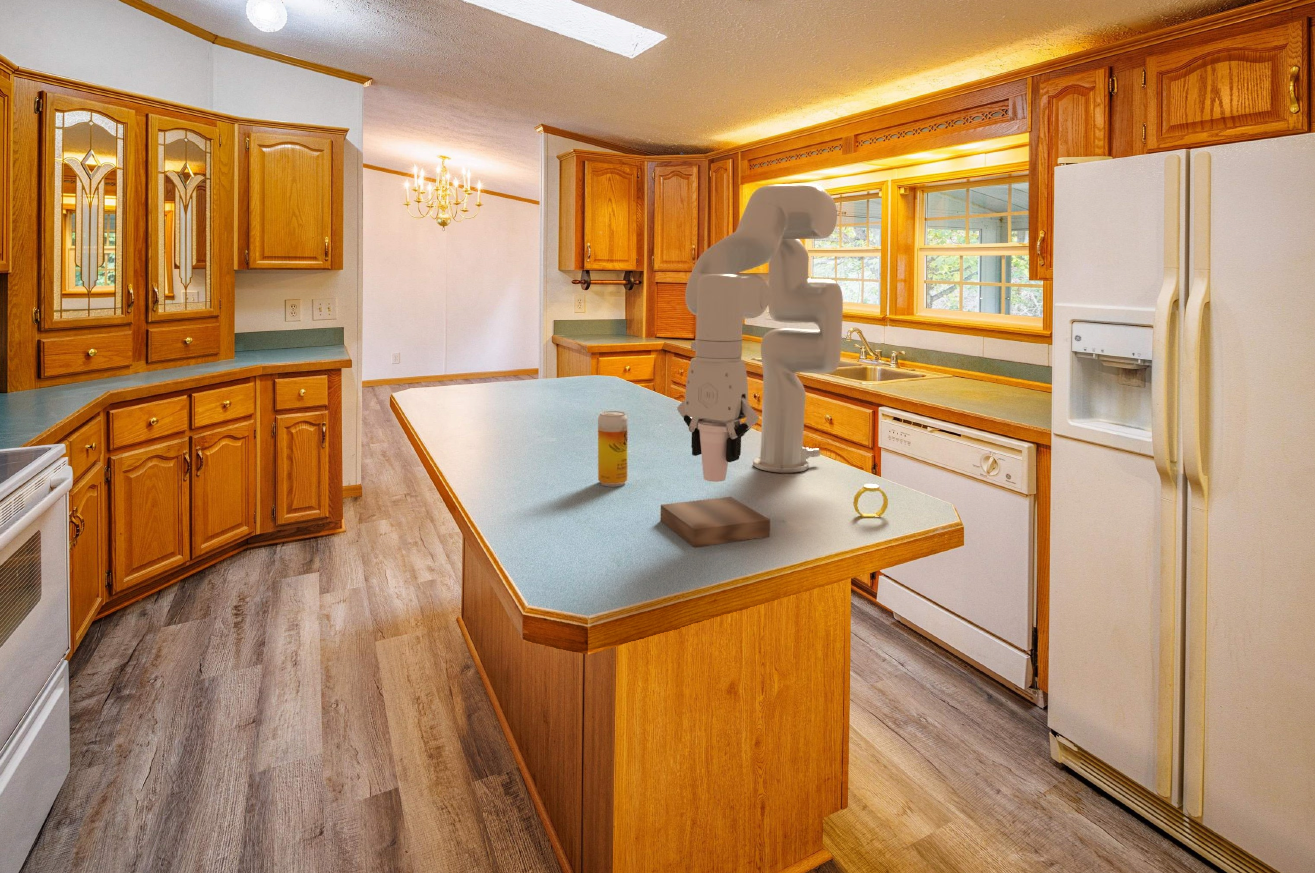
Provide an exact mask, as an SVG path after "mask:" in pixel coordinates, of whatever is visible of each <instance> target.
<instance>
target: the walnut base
mask: <svg viewBox="0 0 1315 873" xmlns="http://www.w3.org/2000/svg"><path fill="white" fill-rule="evenodd" d="M660 522H661V523H662V524H664V526H665V525H666V527H668V528H669V529H670V530H672V532H674V533H675V534H677V535H678V536H679V537H680V538H682V539H683V540H684V541H685V542H687V543H688V544H689V545H690V546H692V547H693V548H699V547H704V546H706V547H707V546H712V545H719V544H720V545H721V544H728V543H733V542H732V541H735V542H741V541H740V540H742V541H747V540H746V539H750V540H754V539H753V538H757V539H761V538H760V537H764V538H770V537H769V536H770V535H771V533H770V532H771V531H770V530H771V519H770V518H769V517H767V516H765V515H763V514H762V513H760V512H758V511H756V510H754V509H752V508H751V507H749V506H748V505H746V504H744V503H743V502H741V501H739V500H738V499H736V498H734V497H732V496H725V497H717V498H708V499H707V498H706V499H698V500H690V501H683V502H682V501H681V502H672V503H664V504H662V503H661V504H660ZM727 542H728V543H727Z"/></svg>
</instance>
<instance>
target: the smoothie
mask: <svg viewBox="0 0 1315 873" xmlns="http://www.w3.org/2000/svg"><path fill="white" fill-rule="evenodd" d="M698 429H699V431H700V442H701V454H700V455H701V461H702V462H701V465H702V475H703V480H705V481H708V482H714V483H715V482H717V483H718V482H723V481H725V480H726V478H727V472H728V471H727V470H728V467H729V466H728V465H729V462H727V461H726V445H727V439H728V438H730V435H729V432H728V428H727V425H726V423H725V422H717V421H710V420H702V421H699V422H698Z"/></svg>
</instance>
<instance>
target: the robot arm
mask: <svg viewBox="0 0 1315 873" xmlns="http://www.w3.org/2000/svg"><path fill="white" fill-rule="evenodd" d="M837 220H838V210H837V205H836V202H835V200H834V198H833V197H832V195H830V194H829V193H828V192H827V191H826V190H825V189H824V188H822V187H821V186H819V185H817V184H813V183H807V182H806V183H785V184H782V183H780V184H777V183H776V184H768V185H764V186H761V187H758V188H757V189H756V190H754V192H753V193H752V194H751V196H750V197H749V199H748V202H747V204H746V206H745V208H744V212H743V214H742V216H741V218H740V220H739V222H738V225H737V228H736V229H735V231H734V232H732V233H731V234H729V235H727V236H726V237H724V238H722V239H720V240H719V241H718V242H716V243H714V244H713V245H712V246H710V247H708V248H707V249H706V250H705V251H704V252H702V253H701V255H699V257H698V258H697V260H696V262H695V265H694V266H693V268H692V271H691V273H690V275H689V277H688V279H687V280H688V281H687V283H686V289H685V295H684V296H685V298H684V300H685V305H686V307H687V309H688V310H689V312H690V313H691V314H692V315H694V316H696V331H695V332H696V334H695V337H696V338H695V341H693V342H691V343H690V349H691V350H692V351H695V357H692V358H691V359H690V361H689V362H690V363H689V367H688V371H687V376H686V383H685V392H684V394H685V395H684V400H682V402H681V403H680V404H678V406H677V407H676V408H677V412H678V413H679V415H680V416H681V417H682V418H683V421H684V422H685V424H686V426H687V427H688V431H689V432H690V433H691V443H690V444H691V446H690V447H691V455H692V456H693V457H694V456H695V457H696V456H699V455H702V454H701V442H700V431H699V429H698V422H699V421H702V420H710V421H717V422H725V423H726V425H727V428H728V432H729V435H730V438H728V439H727V445H726V461H727V462H728V463H733V462H735V461H738V460H740V456H741V453H742V438H743V437H744V436H745V434H746V433H747V432H748V431H750V429H751V428H752V427H753V426H754V425H755V424H757V423H758V421H759V420H760V417H759V415H758V413H757V412H756V411H755V410H754V408H752V406H751V405H750V403H749V388H748V386H749V385H748V384H749V383H748V374H747V368H746V362H745V360H743V359H742V354H743V353H742V351H743V349H742V348H743V329H744V328H743V326H744V325H743V323H744V319H745V320H747V319H754V318H758V317H759V316H762V314H764V312H765V311H766V310H767V308H768V313H769V317H770V318H771V319H772V320H773V321H775V322H778V323H783V324H785V323H786V324H810V325H811V324H812V325H816V326H817V327H818V328H819V329H804V328H773V329H771V330H770V331H767V332H766V333H765V334H764V335H763V337H762V338H761V342H760V357H761V365H762V366H761V367H762V376H763V377H762V380H763V382H762V386H763V388H762V408H761V409H762V410H761V429H760V431H761V435H760V455H759V456H758V457H755V458H754V459H753V461H752V463H753V464H752V465H753V467H754V468H757V469H758V470H761V471H766V472H771V473H780V474H781V473H782V474H783V473H784V474H786V473H787V474H789V473H790V474H791V473H800V472H804V471H806V470H808V469H809V462H808V459H809V458H816V457H820V455H821V450H820V448H809V447H805V446H804V444H803V443H804V427H805V410H806V409H805V408H806V389H805V387H804V385H803V383H802V381H801V380H800V378H799V377H798V375H797V373H798V374H799V373H804V374H805V373H806V374H823V375H824V374H825V375H826V374H832V373H834V372H835V371H837V369H838V368H839V365H840V363H841V356H842V355H841V353H842V337H843V336H842V334H843V333H842V331H843V312H844V310H843V309H844V305H843V303H844V301H843V292H842V288H841V285H840V284H839V283H838V282H837V281H835V280H832V279H827V278H825V279H824V278H820V279H818V278H816V279H815V278H810V276H809V254H808V253H809V252H808V251H807V249H806V247H805V245H804V244H803V242H802V240H820V239H822V240H823V239H827V238H828V237H830V236H831V235H832V234H833V232H834V231H835V228H836V226H837ZM767 263H768V280H767V281H768V283H767V282H766V280H765V279H764V278H763V277H762V276H760V275H758V274H753V273H743V272H745V271H749V270H752V269H755V268H758V267H761V266H763V265H766V264H767ZM742 419H745V420H744V421H743V422H742Z"/></svg>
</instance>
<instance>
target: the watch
mask: <svg viewBox="0 0 1315 873" xmlns="http://www.w3.org/2000/svg"><path fill="white" fill-rule="evenodd" d="M865 492H866V493H867V492H874V493H875V492H879V493H880V494H881V496H882V497H883V499H882V500H883V503H882V506H881V508H880V509H879V510H878V511H877V512H876V513H862V512H860V510H859V507H858V504H859V499H860V498H861V496H862V495H863V494H864V493H865ZM888 504H889V498H888V495H887V494H886V492H885V491H883V490H882V489H880V486H879V485H878V484H876V483H875V484H874V483H865V484H864V485H863V487H862V488H861V489H859V490H858V491H857V492H856V493H855V495H854V498H853V507H854V508H853V509H854V510H855V512H856V513H857V514H858V515H859V516H860V517H861V518H863V517H869V518H876V517H875V516H880V517H881V516H882V515H884V514H885V513H886V511H887V509H888V506H889V505H888Z"/></svg>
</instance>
